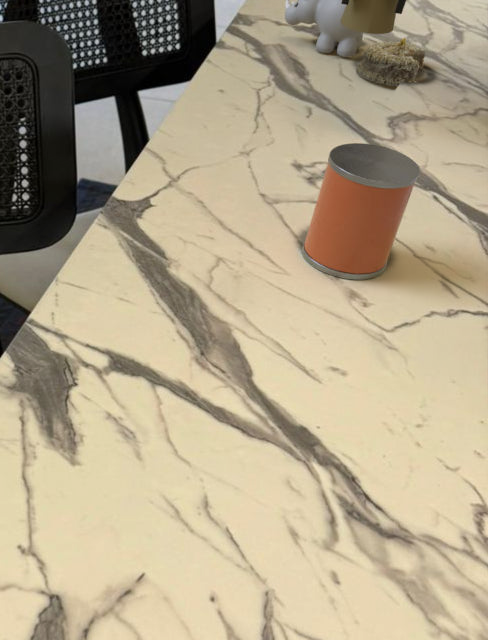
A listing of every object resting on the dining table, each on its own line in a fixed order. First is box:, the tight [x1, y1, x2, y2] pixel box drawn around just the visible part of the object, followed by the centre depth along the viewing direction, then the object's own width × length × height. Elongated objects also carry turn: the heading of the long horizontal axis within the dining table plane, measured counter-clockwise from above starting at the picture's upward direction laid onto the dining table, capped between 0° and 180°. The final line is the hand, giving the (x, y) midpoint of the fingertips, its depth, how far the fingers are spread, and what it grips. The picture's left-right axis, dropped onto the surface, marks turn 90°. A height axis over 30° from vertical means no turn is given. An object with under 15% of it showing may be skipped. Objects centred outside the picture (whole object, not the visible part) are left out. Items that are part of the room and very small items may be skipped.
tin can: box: [301, 142, 421, 281], centre depth 98 cm, size 8×8×10 cm
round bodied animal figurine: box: [284, 0, 364, 58], centre depth 144 cm, size 7×12×8 cm, turn 62°
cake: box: [355, 37, 426, 88], centre depth 138 cm, size 10×10×5 cm
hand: (373, 1), depth 113 cm, fingers closed on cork, 5 cm apart
